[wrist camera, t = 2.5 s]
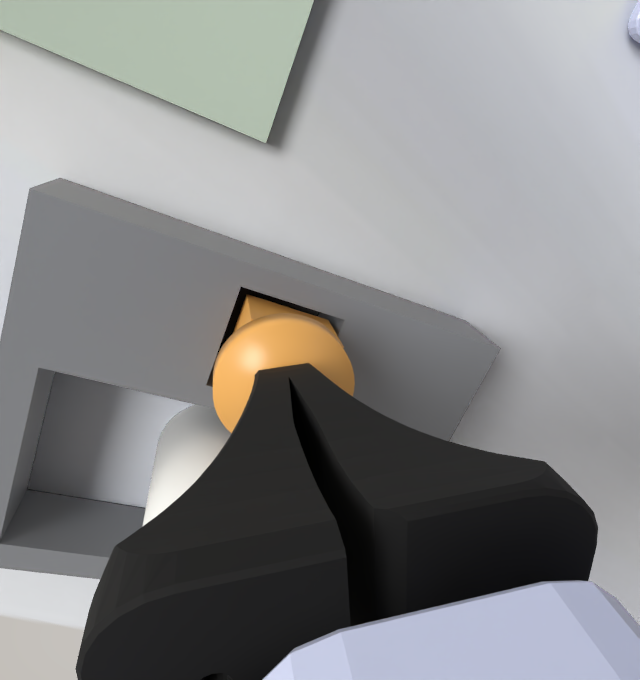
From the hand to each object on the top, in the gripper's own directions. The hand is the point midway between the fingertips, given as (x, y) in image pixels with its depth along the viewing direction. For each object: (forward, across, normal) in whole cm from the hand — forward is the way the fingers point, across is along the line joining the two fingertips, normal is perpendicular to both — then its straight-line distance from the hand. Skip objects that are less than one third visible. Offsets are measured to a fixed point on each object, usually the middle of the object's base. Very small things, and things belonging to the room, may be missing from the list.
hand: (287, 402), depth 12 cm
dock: (+5, +2, +3) cm, 6 cm away
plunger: (+3, 0, 0) cm, 3 cm away
